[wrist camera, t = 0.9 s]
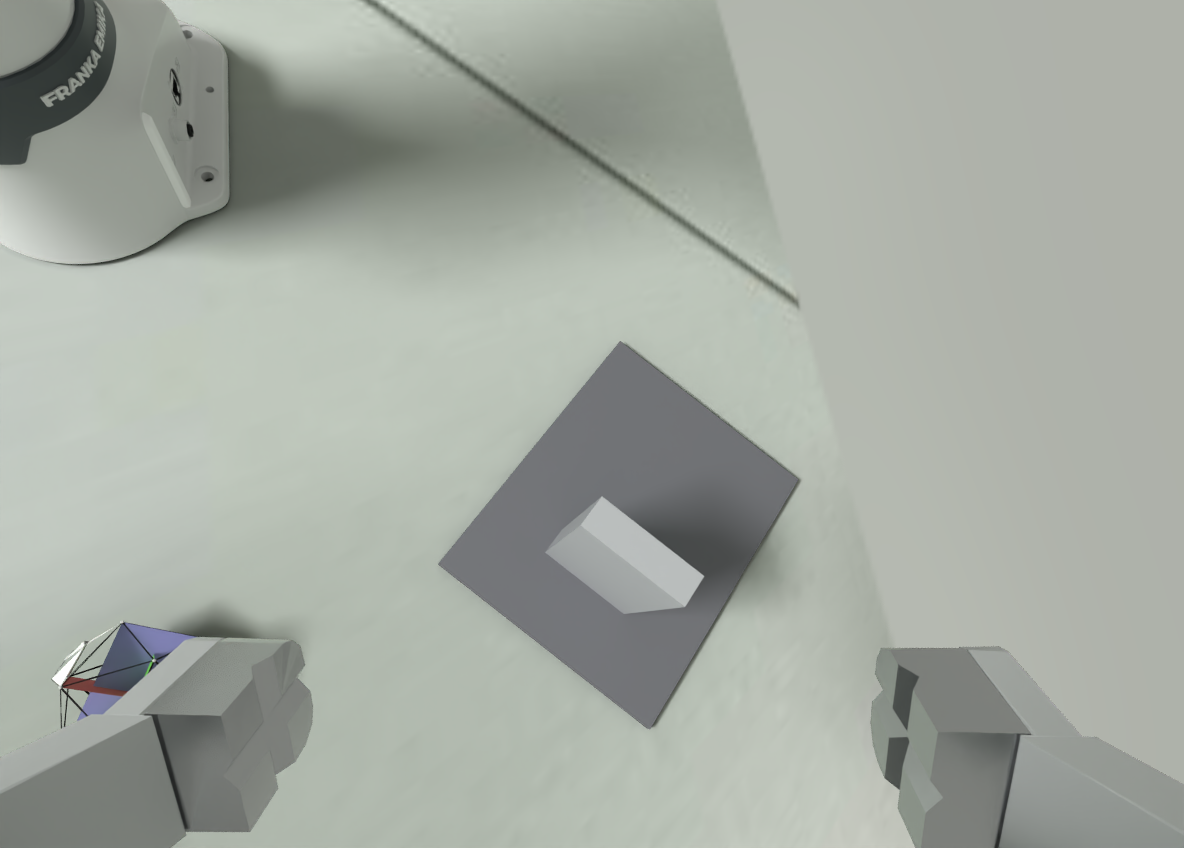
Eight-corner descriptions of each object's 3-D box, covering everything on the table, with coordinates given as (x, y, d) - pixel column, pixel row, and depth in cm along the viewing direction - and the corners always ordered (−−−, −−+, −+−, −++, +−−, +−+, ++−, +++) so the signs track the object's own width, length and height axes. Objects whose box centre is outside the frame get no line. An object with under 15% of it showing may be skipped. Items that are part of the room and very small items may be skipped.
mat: (647, 728, 44) (649, 729, 43) (438, 564, 44) (438, 563, 44) (794, 481, 52) (798, 479, 52) (618, 344, 52) (620, 341, 52)
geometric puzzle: (264, 649, 38) (132, 629, 32) (216, 777, 36) (62, 783, 29) (189, 628, 42) (56, 606, 35) (140, 744, 39) (-13, 743, 33)
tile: (623, 614, 45) (684, 606, 34) (544, 552, 45) (580, 525, 34) (640, 588, 46) (705, 573, 35) (563, 528, 46) (603, 493, 35)
